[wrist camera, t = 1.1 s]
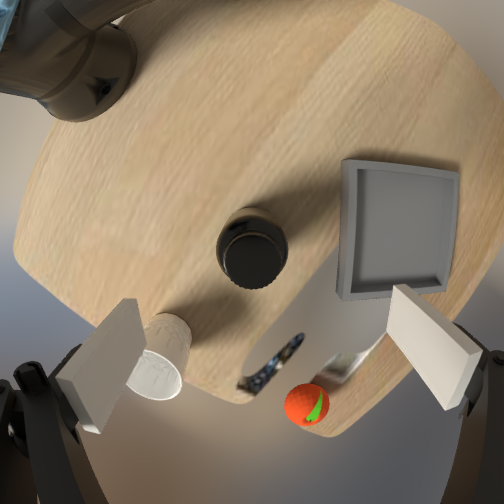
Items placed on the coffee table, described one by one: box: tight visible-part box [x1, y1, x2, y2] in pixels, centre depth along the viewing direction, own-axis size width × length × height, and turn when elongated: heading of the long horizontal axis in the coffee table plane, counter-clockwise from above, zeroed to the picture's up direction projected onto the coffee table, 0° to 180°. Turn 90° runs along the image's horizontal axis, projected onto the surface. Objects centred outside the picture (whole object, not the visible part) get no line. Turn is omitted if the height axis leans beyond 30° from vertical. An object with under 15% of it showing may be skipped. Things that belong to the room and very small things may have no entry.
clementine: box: [284, 384, 330, 426], centre depth 37 cm, size 8×7×7 cm
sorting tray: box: [336, 159, 459, 301], centre depth 33 cm, size 17×17×3 cm
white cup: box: [126, 313, 192, 400], centre depth 33 cm, size 8×8×10 cm
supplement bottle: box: [216, 207, 288, 290], centre depth 29 cm, size 7×7×12 cm
